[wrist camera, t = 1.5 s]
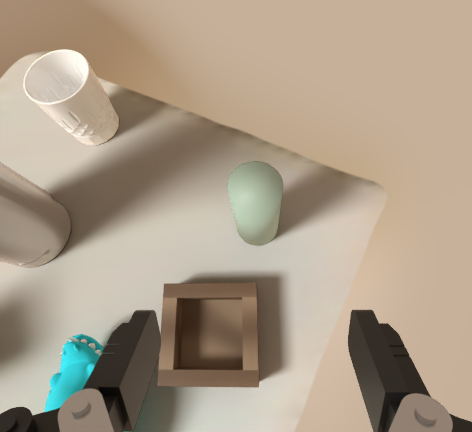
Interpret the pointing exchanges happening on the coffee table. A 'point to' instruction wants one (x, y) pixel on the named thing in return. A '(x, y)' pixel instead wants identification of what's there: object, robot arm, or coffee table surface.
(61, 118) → the white cup
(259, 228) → the post
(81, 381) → the toy shark
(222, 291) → the socket base
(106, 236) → the coffee table surface
